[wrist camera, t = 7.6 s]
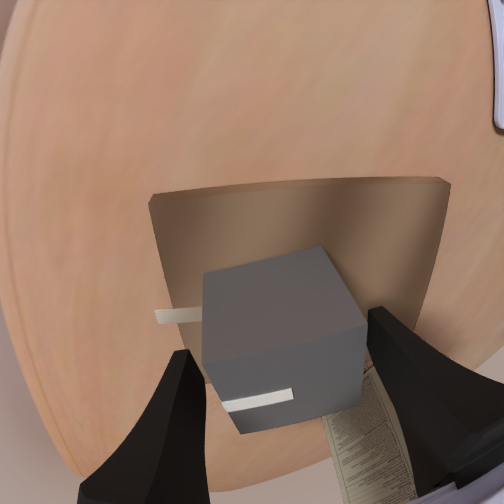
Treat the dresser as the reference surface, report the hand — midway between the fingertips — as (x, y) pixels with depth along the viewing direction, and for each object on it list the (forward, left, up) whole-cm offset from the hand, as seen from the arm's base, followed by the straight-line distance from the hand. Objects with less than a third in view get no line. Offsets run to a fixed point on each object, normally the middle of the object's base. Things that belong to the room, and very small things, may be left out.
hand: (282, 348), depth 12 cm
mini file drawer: (0, 0, -3) cm, 3 cm away
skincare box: (-7, +11, -4) cm, 13 cm away
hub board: (-2, 0, -4) cm, 4 cm away
